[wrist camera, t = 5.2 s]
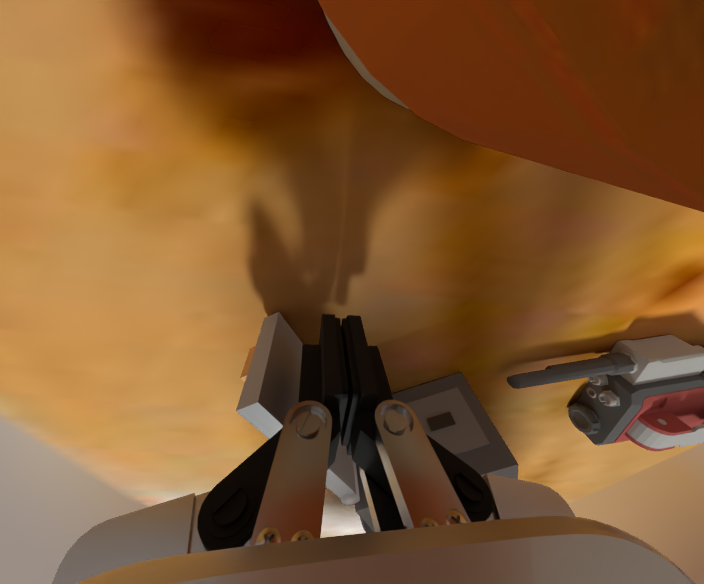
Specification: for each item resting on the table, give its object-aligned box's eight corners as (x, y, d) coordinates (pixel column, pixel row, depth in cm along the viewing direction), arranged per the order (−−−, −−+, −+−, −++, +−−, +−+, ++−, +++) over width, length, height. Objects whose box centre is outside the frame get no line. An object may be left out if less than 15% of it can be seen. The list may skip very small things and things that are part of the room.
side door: (280, 310, 12) (258, 404, 8) (350, 405, 17) (362, 501, 12) (255, 320, 12) (221, 419, 8) (332, 412, 17) (337, 509, 12)
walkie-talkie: (772, 310, 18) (498, 353, 17) (896, 356, 14) (552, 415, 13) (696, 392, 22) (477, 430, 21) (774, 443, 18) (511, 493, 17)
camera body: (472, 452, 22) (520, 547, 17) (367, 483, 23) (382, 584, 18) (460, 370, 16) (527, 476, 11) (320, 414, 17) (321, 535, 12)
